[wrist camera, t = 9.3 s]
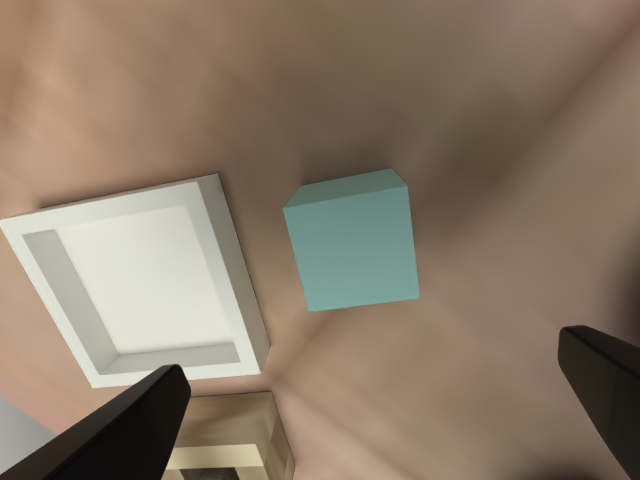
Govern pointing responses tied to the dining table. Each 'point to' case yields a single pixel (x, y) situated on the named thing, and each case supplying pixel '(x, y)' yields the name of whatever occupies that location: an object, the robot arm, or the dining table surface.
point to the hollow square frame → (232, 439)
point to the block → (353, 241)
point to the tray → (145, 282)
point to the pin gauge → (218, 474)
